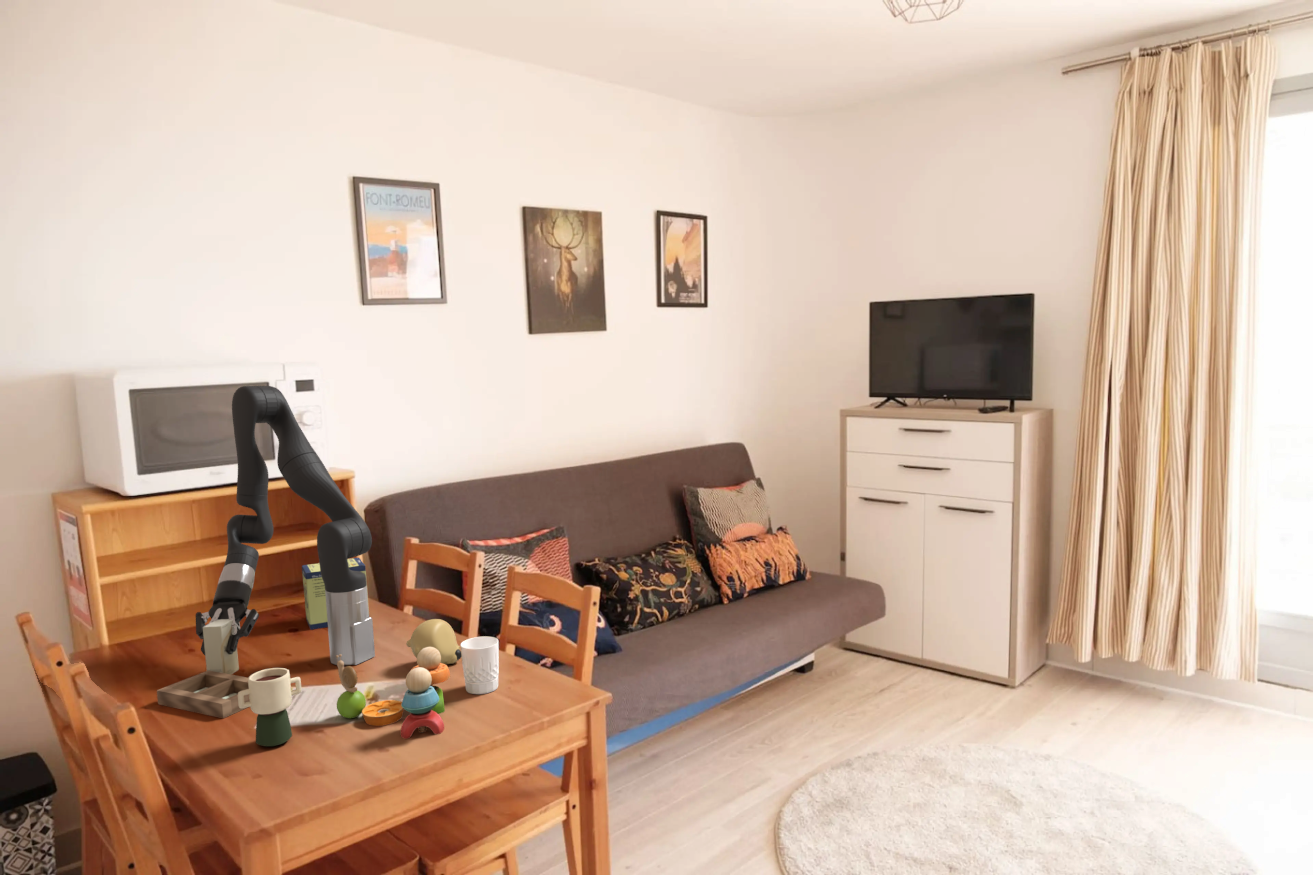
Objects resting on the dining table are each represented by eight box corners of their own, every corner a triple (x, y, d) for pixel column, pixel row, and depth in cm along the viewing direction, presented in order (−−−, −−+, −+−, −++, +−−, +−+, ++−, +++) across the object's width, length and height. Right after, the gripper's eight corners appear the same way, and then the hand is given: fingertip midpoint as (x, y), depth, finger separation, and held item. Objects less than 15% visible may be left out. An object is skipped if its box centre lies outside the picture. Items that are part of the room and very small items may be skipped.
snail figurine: (354, 707, 173) (350, 650, 172) (372, 715, 169) (367, 656, 167) (329, 717, 169) (325, 658, 167) (347, 725, 164) (342, 664, 163)
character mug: (299, 727, 164) (294, 661, 163) (310, 739, 159) (305, 672, 157) (238, 744, 158) (232, 676, 156) (247, 758, 152) (241, 687, 151)
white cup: (464, 697, 176) (461, 650, 175) (462, 684, 183) (459, 638, 182) (502, 692, 178) (500, 645, 177) (499, 679, 185) (496, 634, 184)
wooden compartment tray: (273, 695, 181) (272, 682, 180) (223, 718, 170) (222, 703, 170) (209, 683, 189) (208, 670, 189) (158, 704, 178) (156, 690, 178)
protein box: (305, 620, 234) (300, 564, 233) (364, 610, 241) (360, 556, 240) (309, 630, 225) (304, 572, 223) (370, 620, 232) (366, 564, 231)
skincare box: (225, 679, 191) (221, 626, 190) (206, 679, 191) (201, 627, 190) (239, 668, 198) (235, 617, 196) (221, 669, 198) (216, 618, 197)
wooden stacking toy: (361, 712, 171) (357, 651, 169) (449, 697, 177) (445, 638, 176) (365, 749, 154) (360, 682, 153) (461, 731, 160) (457, 667, 159)
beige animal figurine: (445, 685, 192) (477, 647, 196) (408, 655, 187) (441, 616, 190) (430, 671, 201) (461, 635, 204) (394, 642, 195) (426, 605, 199)
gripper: (197, 580, 200) (177, 648, 189) (260, 577, 201) (244, 644, 190) (209, 596, 205) (191, 662, 194) (270, 592, 206) (255, 658, 196)
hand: (217, 653), depth 192 cm, fingers closed on skincare box, 4 cm apart
